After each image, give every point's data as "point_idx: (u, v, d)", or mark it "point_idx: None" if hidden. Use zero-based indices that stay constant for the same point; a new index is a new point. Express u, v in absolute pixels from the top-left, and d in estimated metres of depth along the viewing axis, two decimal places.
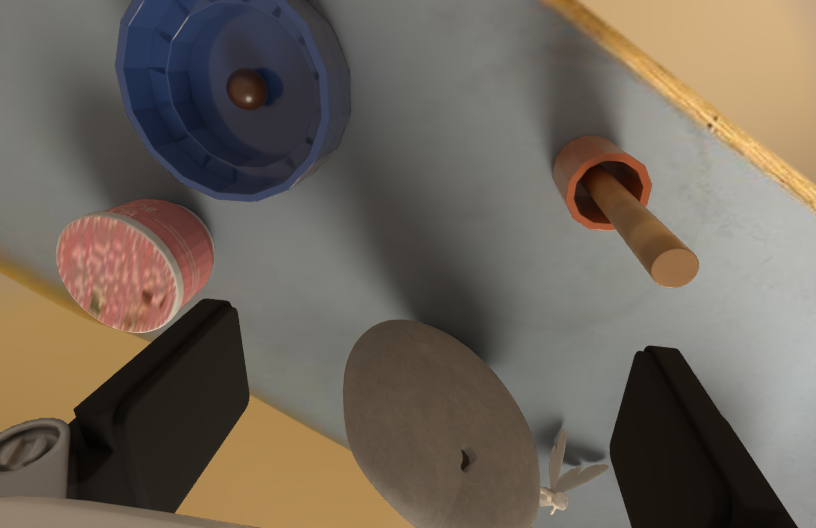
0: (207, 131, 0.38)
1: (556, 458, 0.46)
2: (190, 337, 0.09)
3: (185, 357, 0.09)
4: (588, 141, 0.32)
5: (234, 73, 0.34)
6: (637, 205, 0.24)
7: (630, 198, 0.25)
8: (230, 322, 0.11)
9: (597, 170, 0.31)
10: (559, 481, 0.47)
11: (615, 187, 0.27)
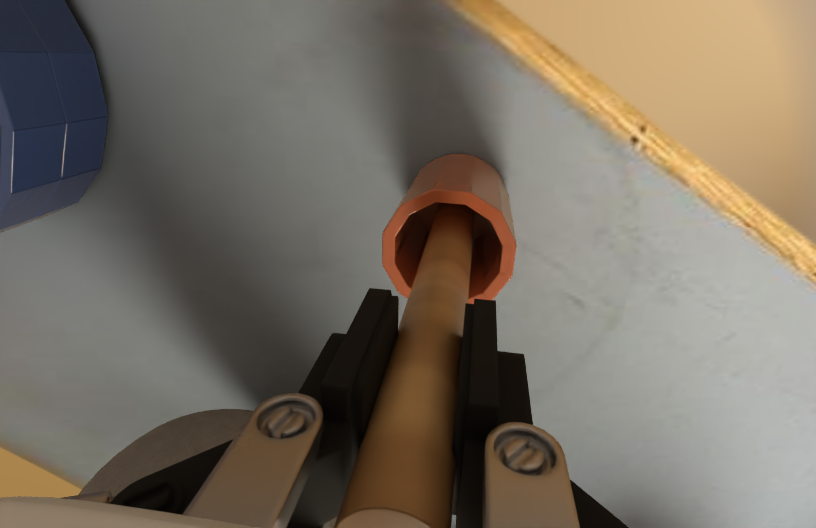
0: None
1: None
2: (377, 323, 0.10)
3: (381, 341, 0.10)
4: (440, 164, 0.20)
5: None
6: (432, 307, 0.12)
7: (437, 285, 0.13)
8: (396, 310, 0.11)
9: (446, 212, 0.19)
10: None
11: (439, 253, 0.15)
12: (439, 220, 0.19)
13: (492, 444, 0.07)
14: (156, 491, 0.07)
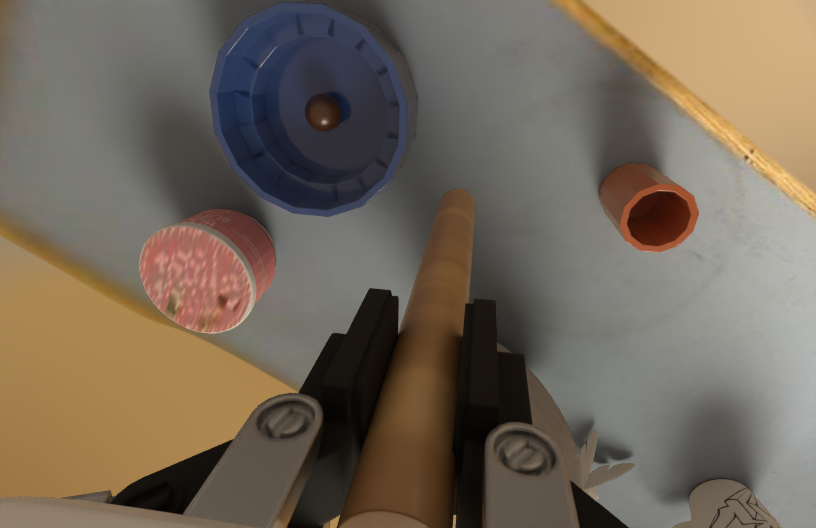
0: (279, 148, 0.41)
1: (586, 456, 0.49)
2: (377, 323, 0.10)
3: (382, 341, 0.10)
4: (637, 169, 0.36)
5: (314, 98, 0.37)
6: (433, 309, 0.12)
7: (438, 287, 0.13)
8: (396, 310, 0.11)
9: (447, 213, 0.19)
10: (588, 478, 0.50)
11: (439, 254, 0.15)
12: (440, 221, 0.19)
13: (492, 444, 0.07)
14: (156, 491, 0.07)
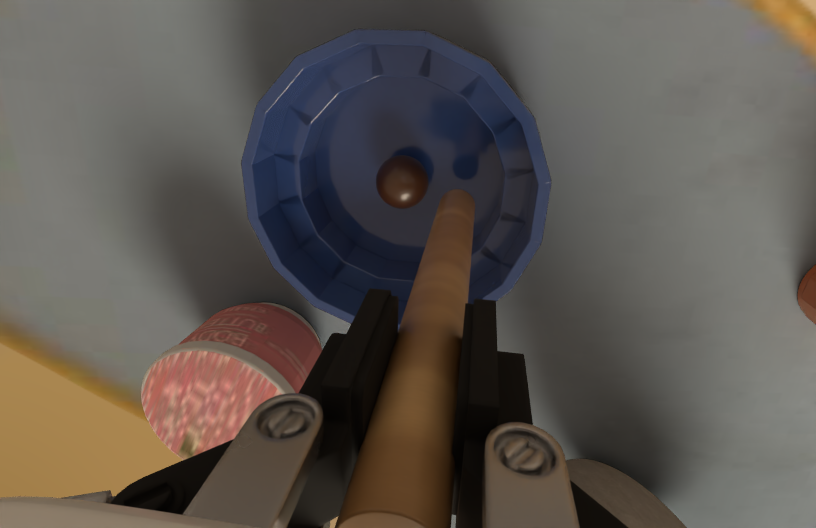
0: (334, 226, 0.29)
1: None
2: (377, 323, 0.10)
3: (381, 341, 0.10)
4: None
5: (391, 164, 0.25)
6: (432, 310, 0.12)
7: (437, 287, 0.13)
8: (396, 310, 0.11)
9: (446, 213, 0.19)
10: None
11: (438, 255, 0.15)
12: (439, 221, 0.19)
13: (492, 444, 0.07)
14: (156, 491, 0.07)
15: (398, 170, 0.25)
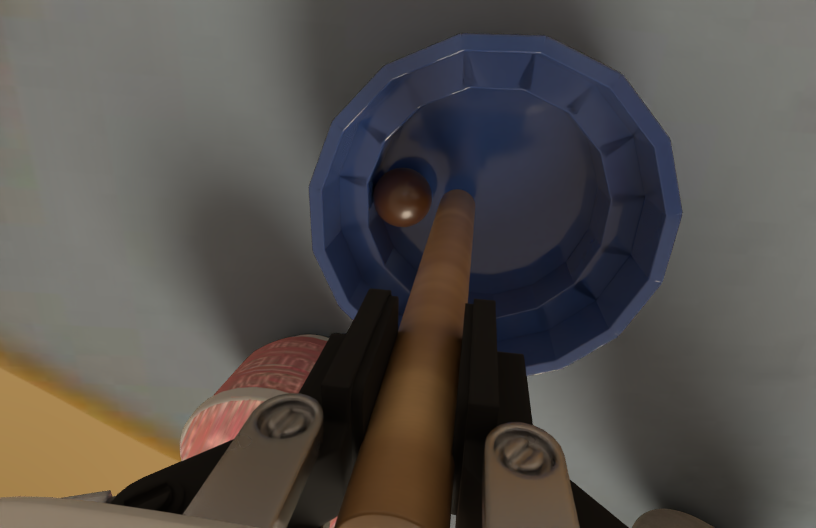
0: (397, 254, 0.26)
1: None
2: (378, 323, 0.10)
3: (381, 341, 0.10)
4: None
5: None
6: (432, 310, 0.12)
7: (437, 288, 0.13)
8: (396, 310, 0.11)
9: (446, 214, 0.19)
10: None
11: (438, 255, 0.15)
12: (439, 222, 0.19)
13: (492, 444, 0.07)
14: (156, 491, 0.07)
15: None
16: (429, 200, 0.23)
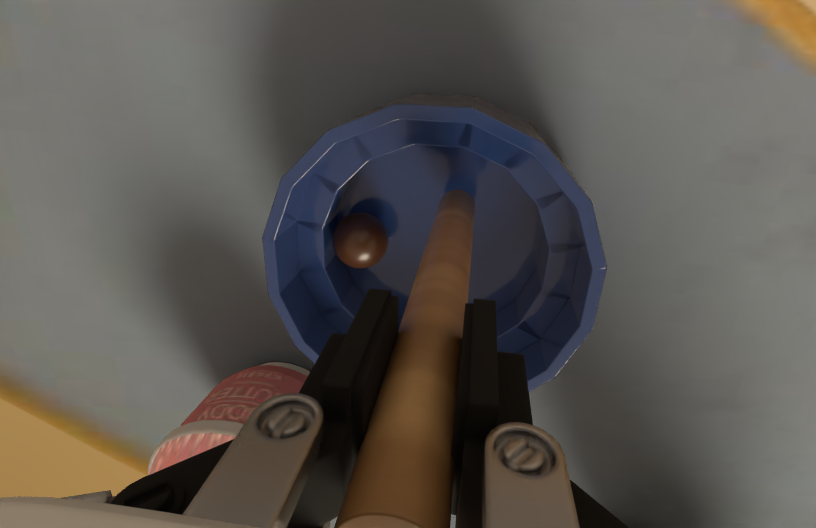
0: (357, 290, 0.27)
1: None
2: (377, 323, 0.10)
3: (382, 341, 0.10)
4: None
5: None
6: (432, 311, 0.12)
7: (437, 288, 0.13)
8: (396, 310, 0.11)
9: (446, 214, 0.19)
10: None
11: (438, 255, 0.15)
12: (439, 222, 0.19)
13: (492, 444, 0.07)
14: (156, 491, 0.07)
15: None
16: (386, 243, 0.24)
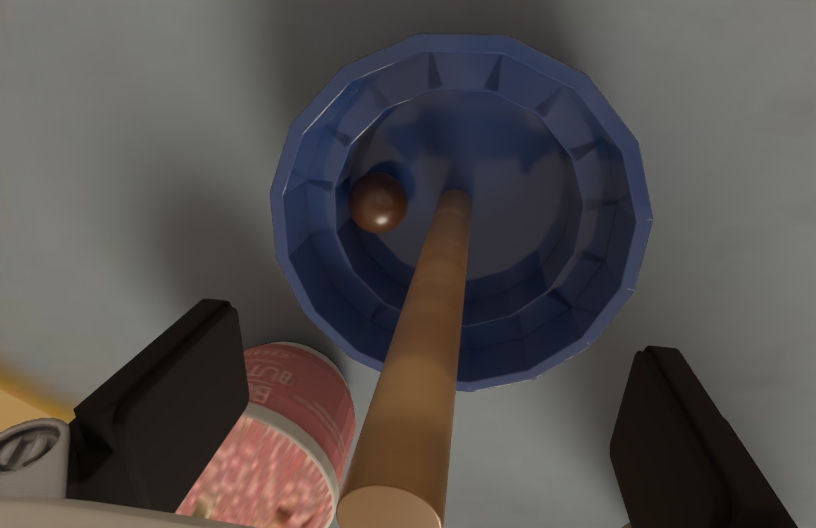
0: (369, 260, 0.25)
1: None
2: (190, 337, 0.09)
3: (185, 357, 0.09)
4: None
5: None
6: (430, 303, 0.12)
7: (434, 282, 0.14)
8: (230, 322, 0.11)
9: (444, 213, 0.20)
10: None
11: (436, 252, 0.16)
12: (437, 220, 0.19)
13: None
14: None
15: None
16: (406, 204, 0.22)
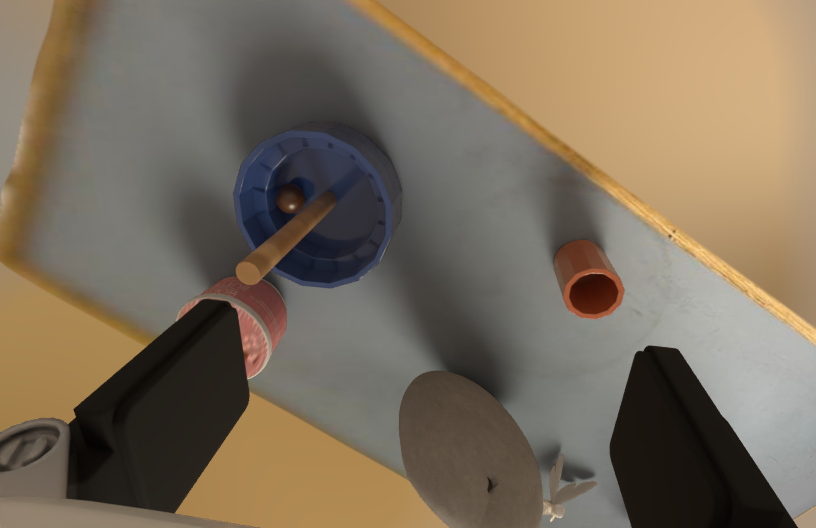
0: None
1: (555, 476, 0.57)
2: (190, 337, 0.09)
3: (185, 357, 0.09)
4: (580, 249, 0.44)
5: None
6: (281, 231, 0.36)
7: (287, 226, 0.38)
8: (230, 322, 0.11)
9: (312, 202, 0.44)
10: (557, 494, 0.58)
11: (296, 217, 0.40)
12: (307, 206, 0.43)
13: None
14: None
15: None
16: (304, 198, 0.47)
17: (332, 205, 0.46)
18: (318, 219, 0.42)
